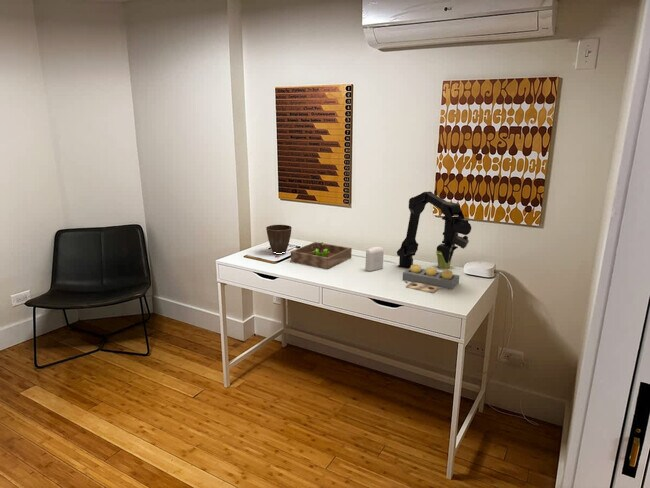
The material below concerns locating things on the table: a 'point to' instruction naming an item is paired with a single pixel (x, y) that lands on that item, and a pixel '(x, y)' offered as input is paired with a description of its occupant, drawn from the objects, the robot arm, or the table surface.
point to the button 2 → (431, 271)
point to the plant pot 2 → (442, 261)
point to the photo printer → (374, 259)
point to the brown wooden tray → (319, 261)
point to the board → (431, 279)
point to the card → (422, 287)
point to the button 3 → (447, 274)
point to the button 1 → (415, 269)
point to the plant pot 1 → (279, 238)
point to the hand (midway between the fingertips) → (447, 262)
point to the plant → (321, 251)
